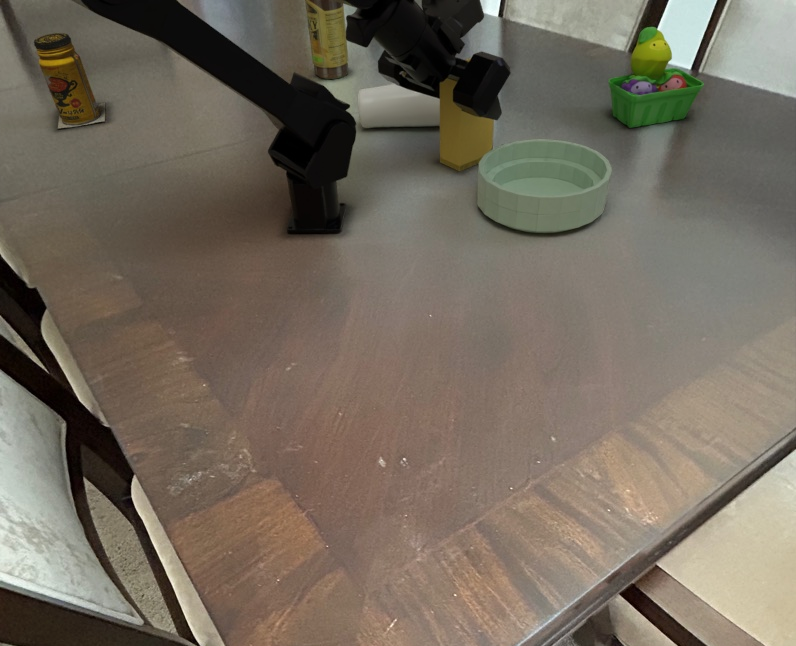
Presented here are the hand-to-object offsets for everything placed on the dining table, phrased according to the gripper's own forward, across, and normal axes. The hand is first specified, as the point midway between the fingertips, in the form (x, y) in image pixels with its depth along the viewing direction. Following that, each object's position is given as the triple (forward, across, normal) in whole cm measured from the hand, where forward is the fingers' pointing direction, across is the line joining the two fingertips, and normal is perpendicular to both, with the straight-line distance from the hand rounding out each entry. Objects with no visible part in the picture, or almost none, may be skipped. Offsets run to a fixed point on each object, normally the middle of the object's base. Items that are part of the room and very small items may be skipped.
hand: (473, 106), depth 87 cm
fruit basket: (+25, -8, -15) cm, 30 cm away
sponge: (+4, 0, +6) cm, 7 cm away
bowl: (+2, -16, +7) cm, 17 cm away
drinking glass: (-1, +20, +6) cm, 21 cm away
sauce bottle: (+9, +42, +1) cm, 43 cm away
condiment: (-20, +56, +30) cm, 66 cm away
